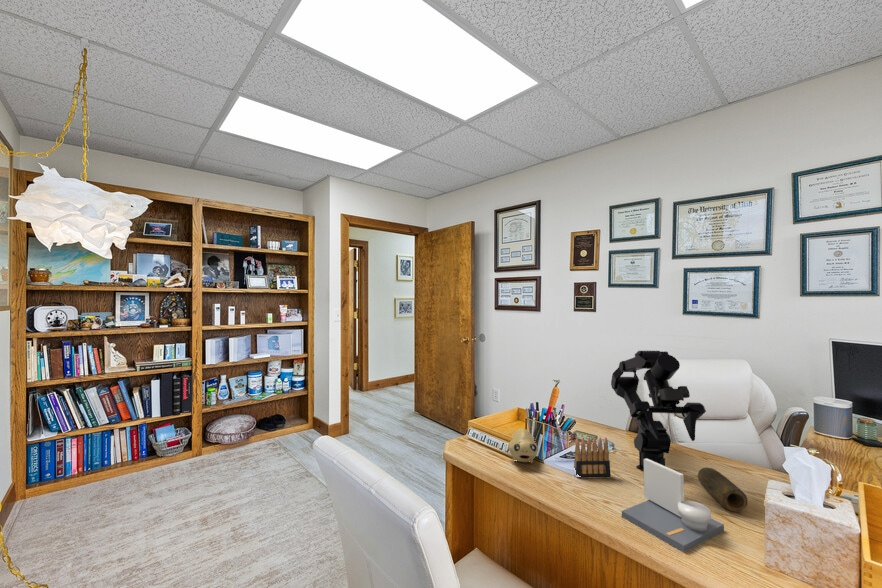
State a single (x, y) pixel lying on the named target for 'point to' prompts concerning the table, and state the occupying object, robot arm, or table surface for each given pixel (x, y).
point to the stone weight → (722, 489)
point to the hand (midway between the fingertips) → (675, 439)
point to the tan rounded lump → (523, 446)
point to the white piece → (671, 492)
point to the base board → (671, 525)
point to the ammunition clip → (592, 459)
